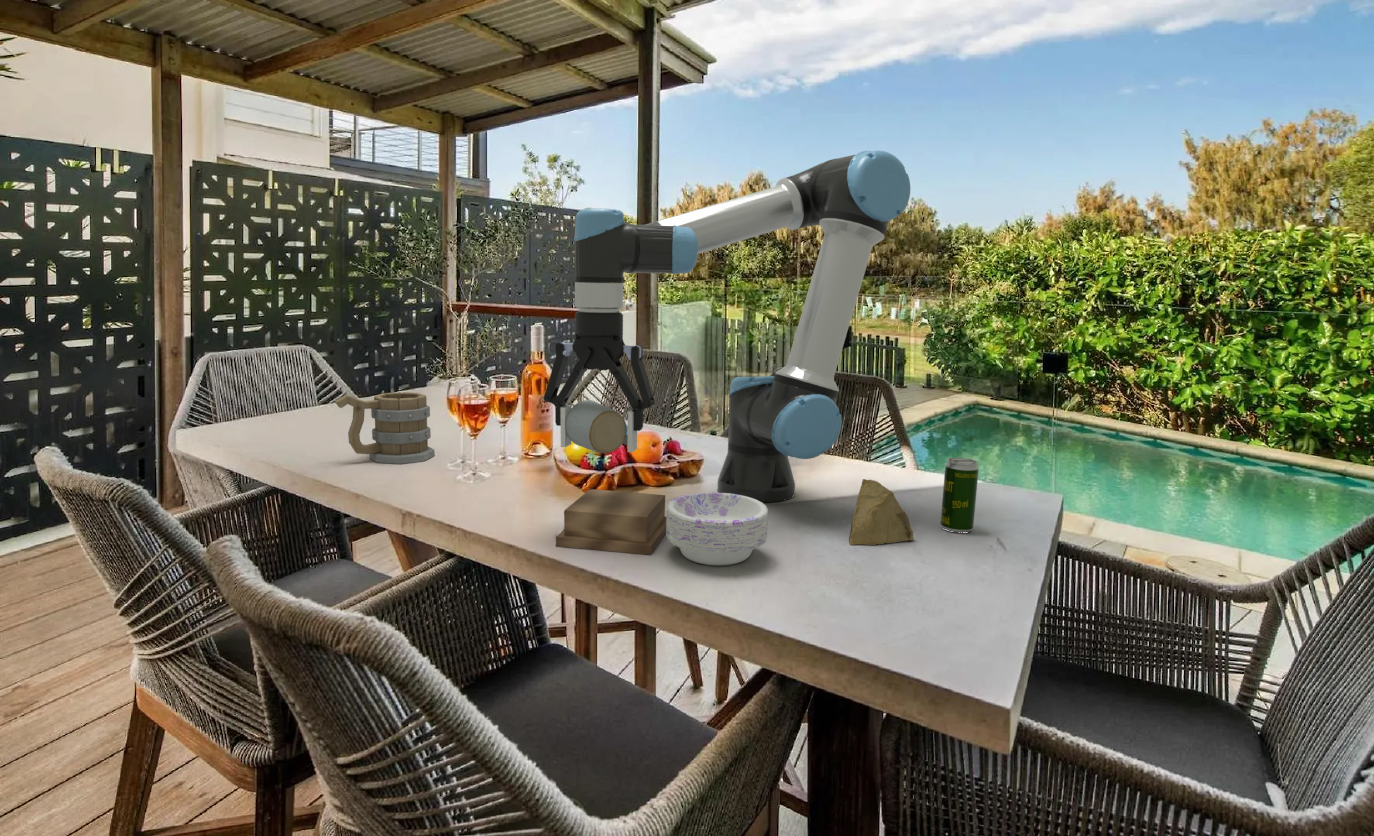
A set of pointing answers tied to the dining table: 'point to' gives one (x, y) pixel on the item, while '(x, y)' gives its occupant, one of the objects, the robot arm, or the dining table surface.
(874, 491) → the rock
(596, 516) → the walnut riser
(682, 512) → the paper bowls
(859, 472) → the dining table surface
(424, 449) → the tankard
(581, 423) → the ceramic mug
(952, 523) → the beer can
